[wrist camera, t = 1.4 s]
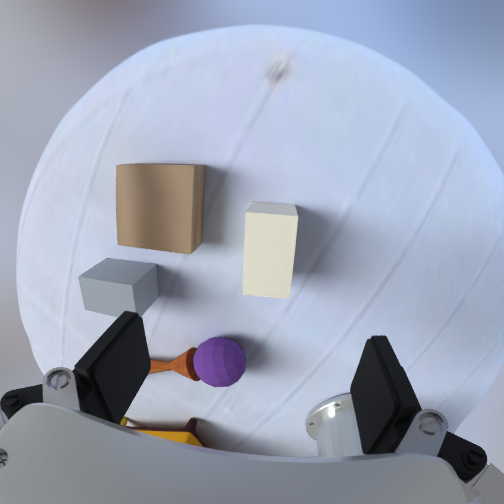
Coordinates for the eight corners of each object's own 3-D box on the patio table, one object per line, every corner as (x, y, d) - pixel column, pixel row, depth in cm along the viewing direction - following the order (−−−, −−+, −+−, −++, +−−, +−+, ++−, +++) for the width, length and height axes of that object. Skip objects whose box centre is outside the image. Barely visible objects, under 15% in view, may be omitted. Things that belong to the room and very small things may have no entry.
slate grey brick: (156, 263, 30) (132, 285, 25) (159, 295, 31) (137, 321, 26) (107, 257, 31) (78, 276, 25) (111, 287, 32) (85, 309, 26)
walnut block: (206, 164, 26) (194, 165, 23) (202, 241, 29) (190, 254, 25) (136, 163, 27) (116, 165, 23) (135, 234, 30) (117, 245, 26)
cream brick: (253, 201, 27) (245, 212, 21) (294, 204, 27) (298, 216, 21) (249, 268, 29) (242, 294, 23) (288, 271, 29) (289, 298, 23)
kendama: (96, 357, 32) (227, 348, 26) (121, 340, 37) (243, 325, 32) (114, 393, 32) (244, 395, 27) (136, 374, 38) (256, 367, 32)
